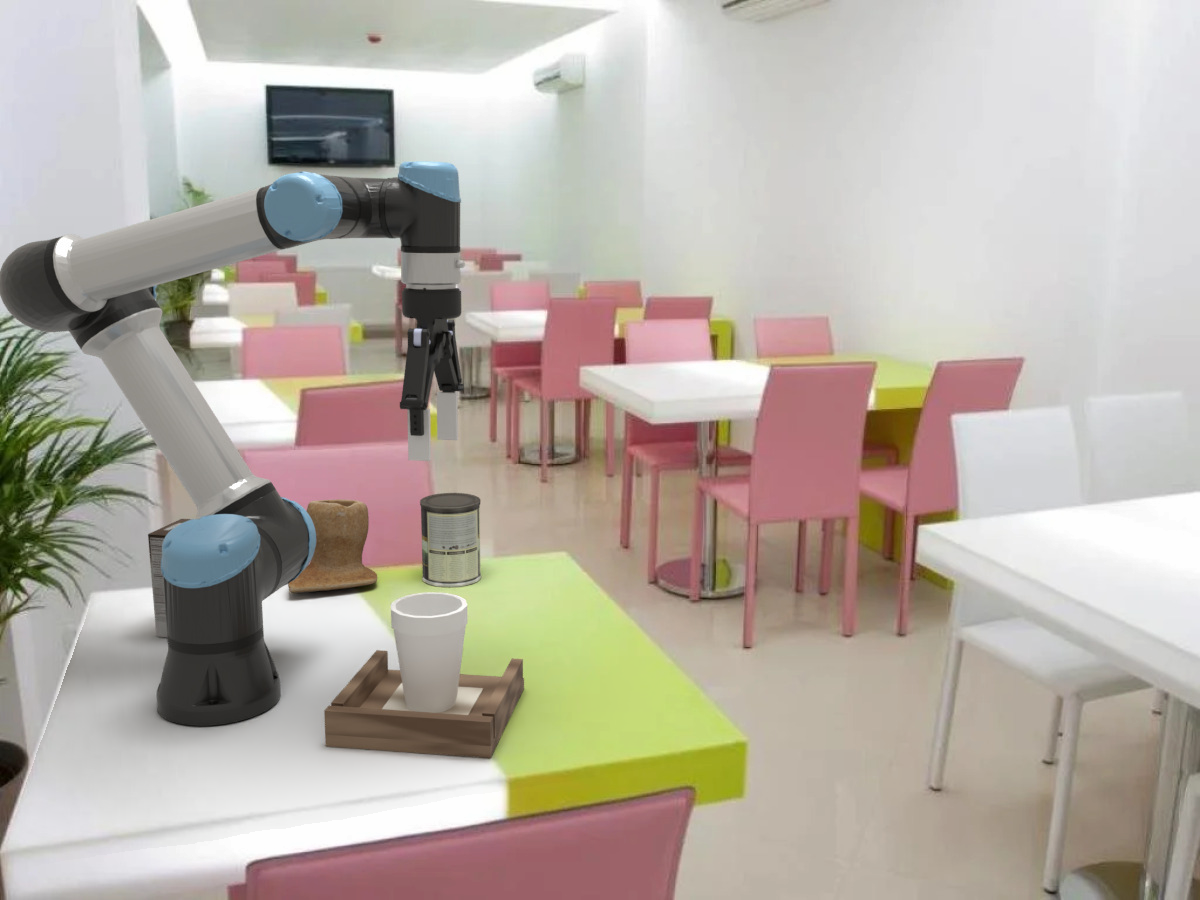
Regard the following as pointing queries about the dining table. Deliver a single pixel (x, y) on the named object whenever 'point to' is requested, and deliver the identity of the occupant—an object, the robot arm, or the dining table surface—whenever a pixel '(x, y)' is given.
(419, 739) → the tray
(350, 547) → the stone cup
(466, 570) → the coffee can
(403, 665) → the foam cup
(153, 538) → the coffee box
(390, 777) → the dining table surface
